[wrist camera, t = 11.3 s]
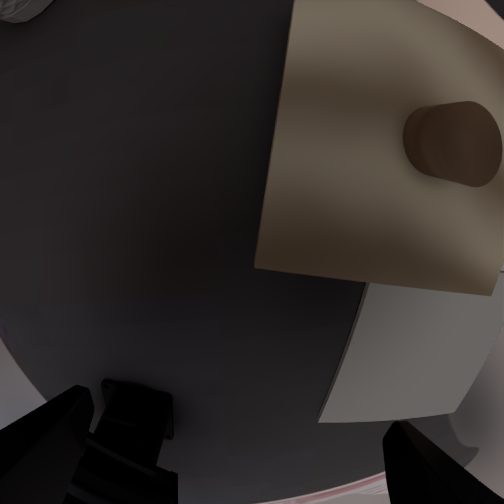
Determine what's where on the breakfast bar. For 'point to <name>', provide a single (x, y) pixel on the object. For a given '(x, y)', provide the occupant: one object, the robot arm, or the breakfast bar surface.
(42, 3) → the white cup
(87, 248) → the breakfast bar surface
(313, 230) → the lid
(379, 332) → the mat
